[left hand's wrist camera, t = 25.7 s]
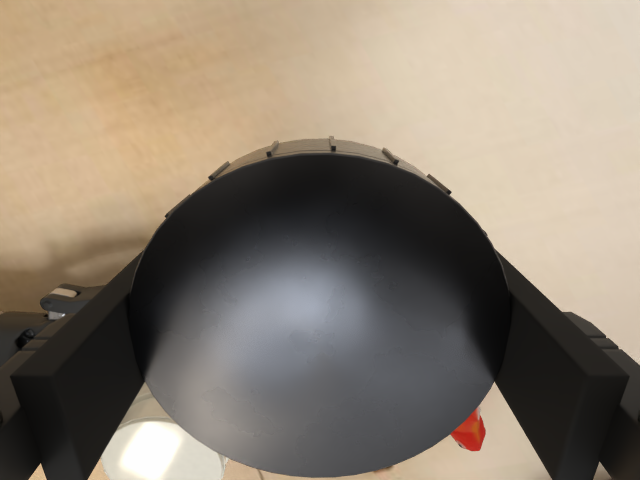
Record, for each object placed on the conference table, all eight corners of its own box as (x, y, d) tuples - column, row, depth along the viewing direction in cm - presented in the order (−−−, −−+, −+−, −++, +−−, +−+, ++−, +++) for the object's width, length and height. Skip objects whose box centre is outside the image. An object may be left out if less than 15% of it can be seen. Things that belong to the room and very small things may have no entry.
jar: (244, 283, 39) (198, 404, 24) (271, 352, 42) (245, 497, 27) (164, 303, 39) (72, 432, 25) (196, 369, 42) (130, 520, 28)
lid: (368, 55, 10) (383, 47, 7) (530, 329, 13) (575, 381, 10) (93, 261, 12) (40, 302, 10) (288, 456, 15) (282, 522, 12)
